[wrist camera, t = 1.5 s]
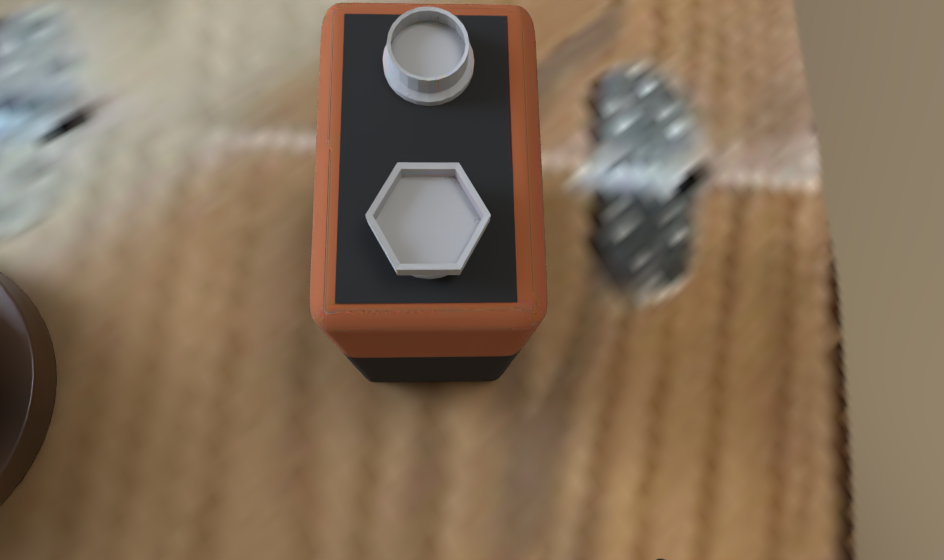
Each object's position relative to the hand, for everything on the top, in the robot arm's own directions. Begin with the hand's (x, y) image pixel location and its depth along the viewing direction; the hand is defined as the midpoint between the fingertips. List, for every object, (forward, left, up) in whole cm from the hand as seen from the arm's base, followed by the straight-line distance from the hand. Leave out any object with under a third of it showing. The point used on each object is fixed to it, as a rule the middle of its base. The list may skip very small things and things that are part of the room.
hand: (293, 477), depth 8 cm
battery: (+6, -2, -12) cm, 14 cm away
